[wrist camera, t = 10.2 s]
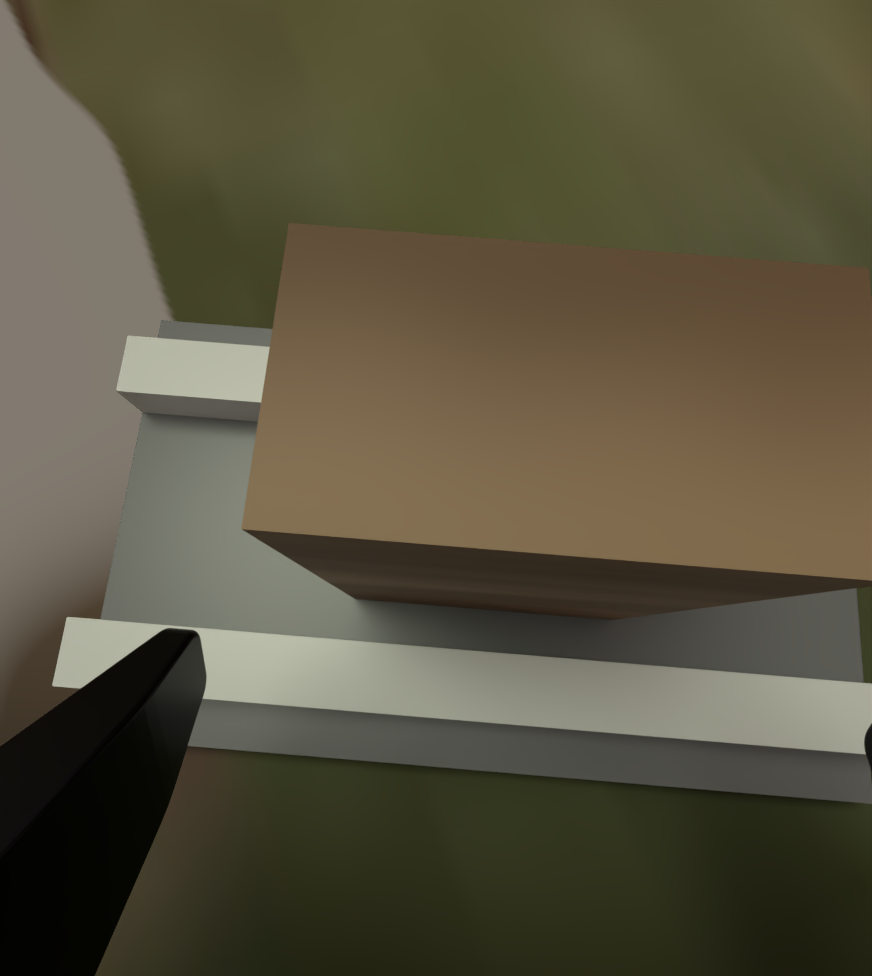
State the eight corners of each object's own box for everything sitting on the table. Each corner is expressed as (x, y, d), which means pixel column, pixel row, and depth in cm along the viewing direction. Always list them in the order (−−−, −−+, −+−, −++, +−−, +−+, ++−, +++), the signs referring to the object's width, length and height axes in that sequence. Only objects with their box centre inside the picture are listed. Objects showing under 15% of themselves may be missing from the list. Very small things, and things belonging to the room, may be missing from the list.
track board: (845, 793, 16) (920, 821, 14) (97, 730, 16) (39, 746, 14) (817, 388, 19) (876, 349, 16) (175, 337, 19) (137, 291, 16)
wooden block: (611, 620, 16) (899, 582, 6) (354, 599, 16) (240, 529, 6) (614, 463, 17) (864, 221, 7) (371, 444, 17) (295, 177, 7)
